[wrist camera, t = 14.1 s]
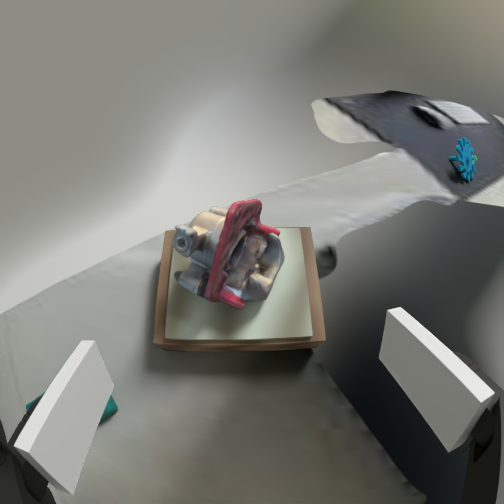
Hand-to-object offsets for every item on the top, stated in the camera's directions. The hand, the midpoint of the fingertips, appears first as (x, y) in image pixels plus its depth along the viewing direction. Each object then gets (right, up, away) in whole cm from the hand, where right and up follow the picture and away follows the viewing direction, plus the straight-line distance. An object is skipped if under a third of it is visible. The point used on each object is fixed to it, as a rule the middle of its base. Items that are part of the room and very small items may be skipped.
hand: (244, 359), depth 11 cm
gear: (+49, +24, +38) cm, 66 cm away
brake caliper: (-2, +3, +20) cm, 20 cm away
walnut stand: (-1, -1, +23) cm, 23 cm away
